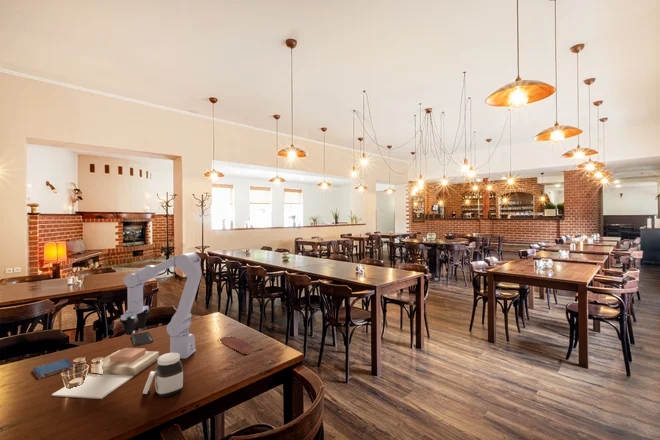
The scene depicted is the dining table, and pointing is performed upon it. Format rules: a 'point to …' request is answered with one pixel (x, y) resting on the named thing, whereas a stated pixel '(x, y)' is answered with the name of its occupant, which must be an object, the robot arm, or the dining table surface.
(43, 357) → the dining table surface
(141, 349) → the tile
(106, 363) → the block
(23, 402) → the dining table surface
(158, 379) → the spread jar
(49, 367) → the woven mat
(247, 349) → the wooden tablet
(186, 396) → the dining table surface
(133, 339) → the phone
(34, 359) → the dining table surface
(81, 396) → the mat
